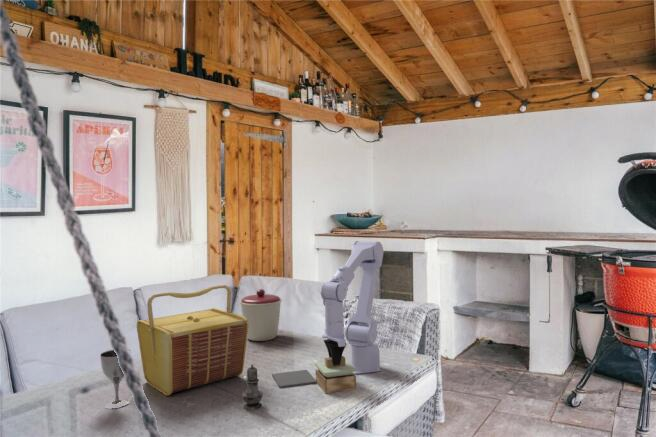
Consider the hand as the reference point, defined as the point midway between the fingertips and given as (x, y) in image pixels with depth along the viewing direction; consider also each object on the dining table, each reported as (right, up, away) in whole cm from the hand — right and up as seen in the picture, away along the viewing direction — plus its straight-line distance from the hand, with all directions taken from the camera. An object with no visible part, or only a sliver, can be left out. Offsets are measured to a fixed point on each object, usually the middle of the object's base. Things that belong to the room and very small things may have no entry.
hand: (335, 363), depth 156 cm
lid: (0, -2, 0) cm, 2 cm away
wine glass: (-63, -9, -12) cm, 65 cm away
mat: (-13, -7, +6) cm, 16 cm away
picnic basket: (-46, -8, +8) cm, 48 cm away
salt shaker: (-24, -8, -15) cm, 29 cm away
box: (0, -7, 0) cm, 7 cm away
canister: (-31, -6, +58) cm, 66 cm away
